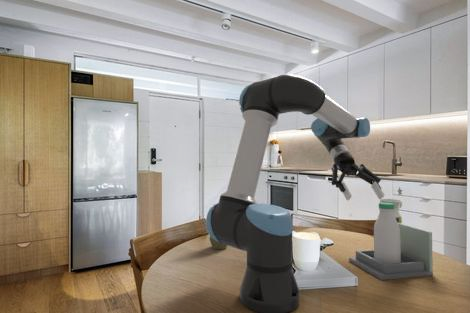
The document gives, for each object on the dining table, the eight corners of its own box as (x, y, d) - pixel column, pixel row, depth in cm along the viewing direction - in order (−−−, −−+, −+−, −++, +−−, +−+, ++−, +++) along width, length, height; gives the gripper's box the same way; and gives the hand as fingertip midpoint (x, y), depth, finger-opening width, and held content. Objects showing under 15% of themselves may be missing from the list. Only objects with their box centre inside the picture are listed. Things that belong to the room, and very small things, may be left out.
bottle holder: (381, 280, 81) (380, 235, 81) (349, 260, 96) (348, 223, 97) (432, 275, 84) (432, 232, 84) (393, 257, 100) (392, 221, 100)
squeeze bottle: (233, 246, 113) (232, 203, 113) (221, 252, 106) (221, 205, 106) (217, 243, 117) (217, 201, 118) (205, 248, 110) (205, 204, 111)
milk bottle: (404, 269, 86) (404, 205, 86) (378, 267, 87) (377, 204, 88) (395, 260, 93) (394, 202, 94) (371, 259, 95) (370, 201, 95)
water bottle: (405, 247, 112) (404, 186, 112) (401, 252, 105) (400, 187, 106) (382, 243, 117) (382, 185, 118) (378, 248, 110) (377, 186, 111)
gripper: (364, 164, 121) (390, 202, 106) (312, 164, 116) (331, 204, 101) (372, 151, 116) (400, 190, 101) (318, 151, 111) (339, 192, 96)
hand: (366, 197), depth 101 cm, fingers open, 13 cm apart
